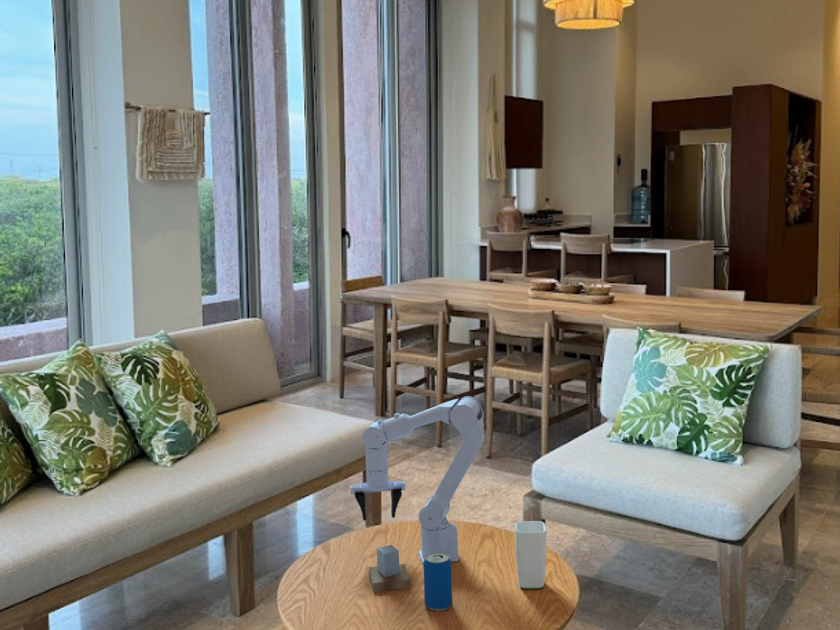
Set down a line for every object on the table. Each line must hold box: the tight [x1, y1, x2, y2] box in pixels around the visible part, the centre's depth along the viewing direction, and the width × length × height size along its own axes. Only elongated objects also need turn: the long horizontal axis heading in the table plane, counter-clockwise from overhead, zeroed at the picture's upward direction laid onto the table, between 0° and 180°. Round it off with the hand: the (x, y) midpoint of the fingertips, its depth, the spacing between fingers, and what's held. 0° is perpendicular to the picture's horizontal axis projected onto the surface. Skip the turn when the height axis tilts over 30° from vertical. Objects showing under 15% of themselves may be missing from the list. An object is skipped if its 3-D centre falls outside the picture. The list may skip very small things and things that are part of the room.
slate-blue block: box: [376, 544, 400, 577], centre depth 223 cm, size 4×4×6 cm
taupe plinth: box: [368, 563, 411, 593], centre depth 223 cm, size 9×9×3 cm
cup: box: [514, 520, 547, 590], centre depth 218 cm, size 7×7×15 cm
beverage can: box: [422, 552, 453, 612], centre depth 209 cm, size 6×6×12 cm
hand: (378, 517), depth 239 cm, fingers open, 7 cm apart
